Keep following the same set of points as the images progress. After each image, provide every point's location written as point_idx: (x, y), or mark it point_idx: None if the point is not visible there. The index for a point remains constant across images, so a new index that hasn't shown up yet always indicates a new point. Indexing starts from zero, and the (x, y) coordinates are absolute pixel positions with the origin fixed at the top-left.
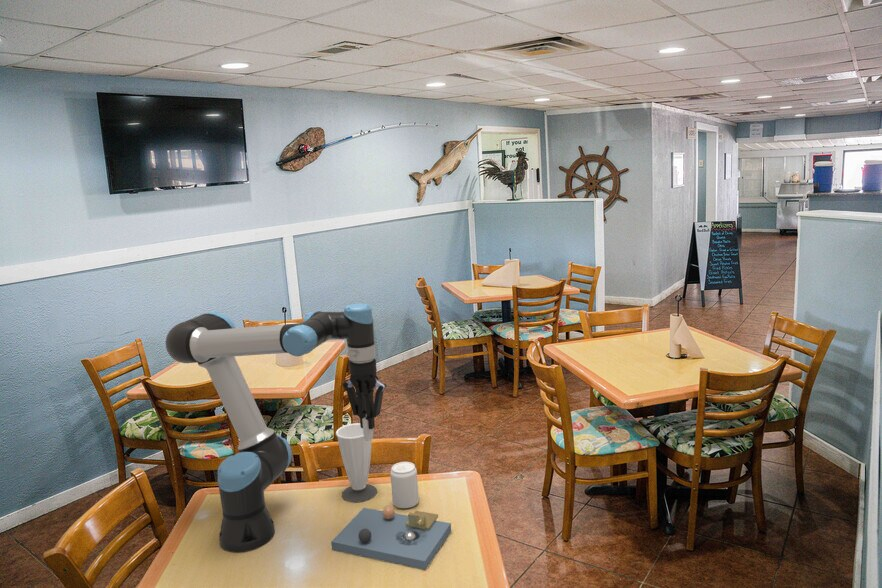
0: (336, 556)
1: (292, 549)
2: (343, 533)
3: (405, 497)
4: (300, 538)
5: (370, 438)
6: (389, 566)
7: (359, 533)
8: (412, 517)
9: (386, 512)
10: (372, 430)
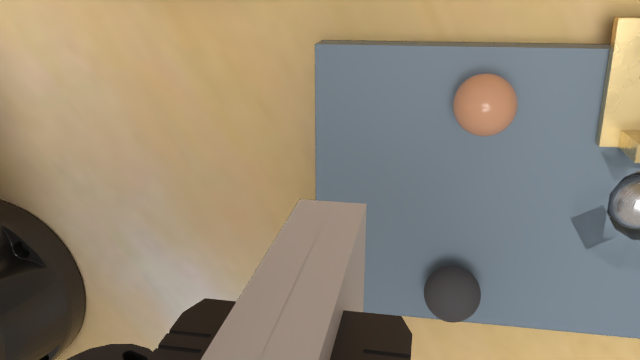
0: None
1: None
2: None
3: None
4: (172, 253)
5: (362, 273)
6: (585, 333)
7: (434, 314)
8: None
9: (487, 134)
10: (354, 251)
